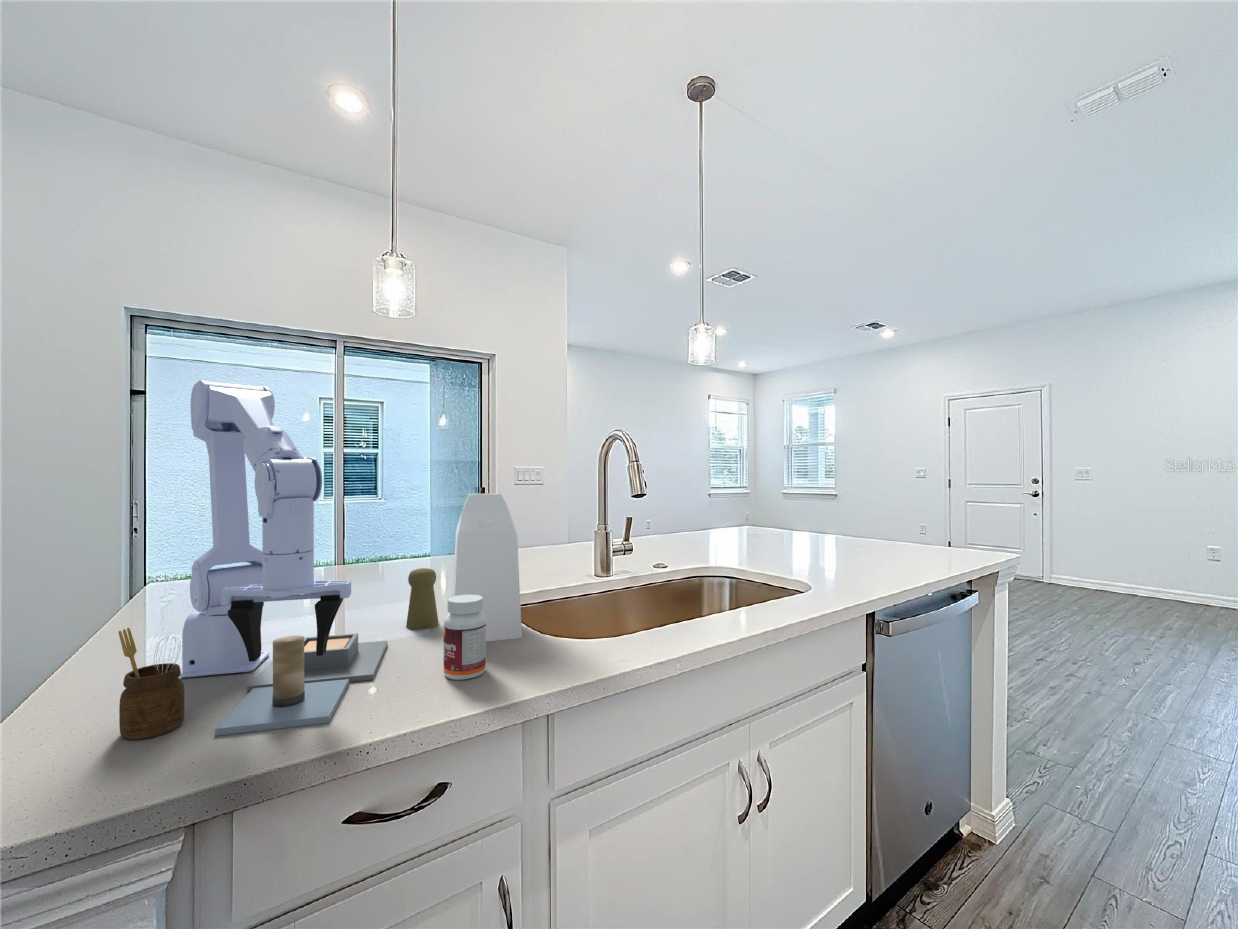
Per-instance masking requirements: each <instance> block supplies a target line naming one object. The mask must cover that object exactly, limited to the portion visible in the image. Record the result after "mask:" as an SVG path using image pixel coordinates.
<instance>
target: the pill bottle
mask: <svg viewBox="0 0 1238 929" xmlns="http://www.w3.org/2000/svg"><path fill="white" fill-rule="evenodd" d="M481 610H483V597H482V596H479V595H458V596H454V597H453V596H451V597H449V598H448V599H447V610H446V611H447V612H448V615H447V616H446V617H444V621H443V674H444V676H445V677H446V678H447V679H450V680H454V681H455V680H457V681H458V680H459V681H464V680H469V679H470V678H471V679H474V678H478V677H479V676H481V675H483V674H484V673H485V671H486V669H487V668H486V667H487V664H486V663H487V641H486V618H485V615H484V614H483V613H481V612H480V611H481Z"/></svg>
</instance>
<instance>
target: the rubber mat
mask: <svg viewBox="0 0 1238 929" xmlns="http://www.w3.org/2000/svg"><path fill="white" fill-rule="evenodd" d="M349 685H350V682H349V679H345V680H334V681H324V682H314V683H304V690H305V699H304V701H302V702H301V703H299V704H296V705H293V706H289V707H274V706H273V705H272V696H273V687H263V688H253V689H252V690H251V691H250V692H247V694H246V696H245V697H243V698H242V699H241V700H240V702H239V703H238V704H237V705H236V706H235V707H234V709H232V710H231V712H230V713H228V714H227V716H226V717H224V719H223V720H222V721H221V722H219V724H218V725H217V726H216V727H215V728H214V736H217V737H218V736H224V735H226V736H227V735H235V734H241V733H251V732H258V731H260V732H261V731H266V730H267V731H268V730H277V729H284V728H285V729H286V728H294V727H302V726H304V727H305V726H312V725H319V724H321V725H322V724H328V723H330V722H331V720H332V718H333V716H334V714H335V712H336V711H337V708H338V707H339V705H340V703H341V701H342V699H343V697H344V695H345V693H346V691H347V689H348V688H349Z"/></svg>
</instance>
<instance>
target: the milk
mask: <svg viewBox="0 0 1238 929" xmlns="http://www.w3.org/2000/svg"><path fill="white" fill-rule="evenodd" d="M518 545H519V543H518V534H517V531H516V527H515V524H514V521H513V518H512V516H511V513H510V510H509V508H508V505H507V504H506V501H505V499H504V496H503V494H502V493H501V492H500V493H499V492H497V493H496V492H495V493H468V495H467V498H466V500H465V502H464V504H463V507H462V510H461V513H460V516H459V519H458V523H457V526H456V529H455V538H454V559H453V560H454V562H453V564H454V566H453V580H452V582H453V585H452V597H454V596H458V595H479V596H482V597H483V610H481V611H480V612H481V613H483V614H484V615H485V618H486V642H490V641H491V642H494V641H502V640H513V639H522V638H523V633H522V631H523V630H522V614H521V613H522V611H521V608H522V607H521V589H520V588H521V587H520V565H519V548H518V547H519V546H518Z"/></svg>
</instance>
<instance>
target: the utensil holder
mask: <svg viewBox="0 0 1238 929" xmlns="http://www.w3.org/2000/svg"><path fill="white" fill-rule="evenodd" d="M117 633H118V636H119V640H120V644H121V648H122V653H123V656H124V657H126V658H129V660H130V664H131V668H132V670H131V671H129V672H127V673H126V674H125V675H124V679H123V684H122V685H123V687H124V688H125V689H124V690H122V692H121V694H120V697H119V704H118V706H119V708H118V710H119V712H118V713H119V718H118V719H119V720H118V721H119V723H118V724H119V733H120V736H121V737H122V739H125V740H129V741H131V740H132V741H133V740H134V741H137V740H138V741H139V740H145V739H150V738H155V737H159V736H162V735H164V734H167V733H169V732H172V731H174V730H175V729H177V728H178V727H180V726H181V725H182V723H183V722H184V719H185V684H184V681H183V680H182V679H181V677H180V675H181V673H182V670H181V666H180V665H179V664H178V663H177V660H178V658H179V655H180V652H181V648H180V644H179V643H181V640H180V639H179V638H177V637H175V636H166V637H163V638H162V639H161V640H160V641H159V642H158V643H157V645H156V647H155V651H154V656H153V659H155V663H156V664H155V663H153V664H151V665H147V666H142V667H137V663H136V659H135V655H136V654H137V648H136V643H135V640H134V637H133V635H132V631H131V628H130V627H127V628H126V629H125V628H124V629H122V630H119V631H118V632H117ZM165 639H166V640H165ZM169 639H174V645H176V642H177V649H178V651H177V654H176V657H175V661H174V663H173V662H172V659H173V658H174V654H175V649H176V646H174V647H173V653H172V657H171V659H170V656H171V651H172V648H170V649H169V654H168V659H167V662H166V663H164V662H165V657H163V659H162V662H163V663H157V662H158V661H161V660H160V658H161V653H162V650H163V647H164V645H167V643H168V640H169ZM163 640H165V641H164V642H163V644H162V647H161V649H160V652H159V653H160V654H159V658H158V661H157V659H156V658H157V656H158V650H159V645H160V643H161V642H162V641H163ZM170 645H172V640H170ZM166 648H167V646H165V648H164V650H166ZM165 652H166V651H164V653H163V655H165ZM169 660H170V662H169Z"/></svg>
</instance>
